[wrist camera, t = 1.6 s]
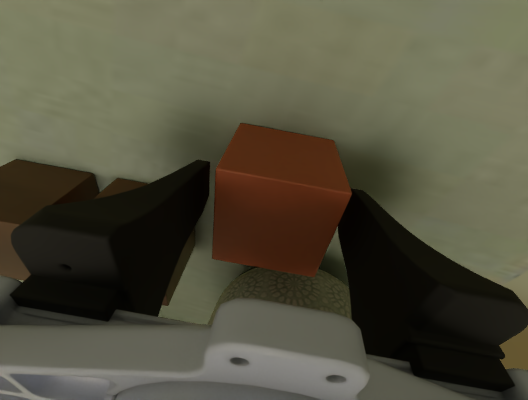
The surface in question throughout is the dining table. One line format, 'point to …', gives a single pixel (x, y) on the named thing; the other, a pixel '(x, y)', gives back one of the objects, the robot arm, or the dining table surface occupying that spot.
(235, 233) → the terracotta block
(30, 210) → the walnut block
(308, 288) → the planter
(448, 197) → the dining table surface
